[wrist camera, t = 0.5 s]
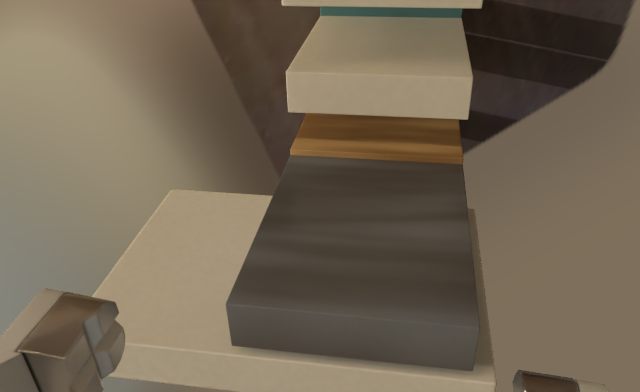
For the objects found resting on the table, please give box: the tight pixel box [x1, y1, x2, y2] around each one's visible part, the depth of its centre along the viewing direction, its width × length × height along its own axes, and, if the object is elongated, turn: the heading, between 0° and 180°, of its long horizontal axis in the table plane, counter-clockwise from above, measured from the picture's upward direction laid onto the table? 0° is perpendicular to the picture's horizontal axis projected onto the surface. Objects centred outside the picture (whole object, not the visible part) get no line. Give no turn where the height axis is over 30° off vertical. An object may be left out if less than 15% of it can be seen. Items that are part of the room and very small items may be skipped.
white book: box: [92, 189, 497, 392], centre depth 30 cm, size 2×19×13 cm, turn 91°
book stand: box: [226, 113, 480, 371], centre depth 41 cm, size 9×10×39 cm
